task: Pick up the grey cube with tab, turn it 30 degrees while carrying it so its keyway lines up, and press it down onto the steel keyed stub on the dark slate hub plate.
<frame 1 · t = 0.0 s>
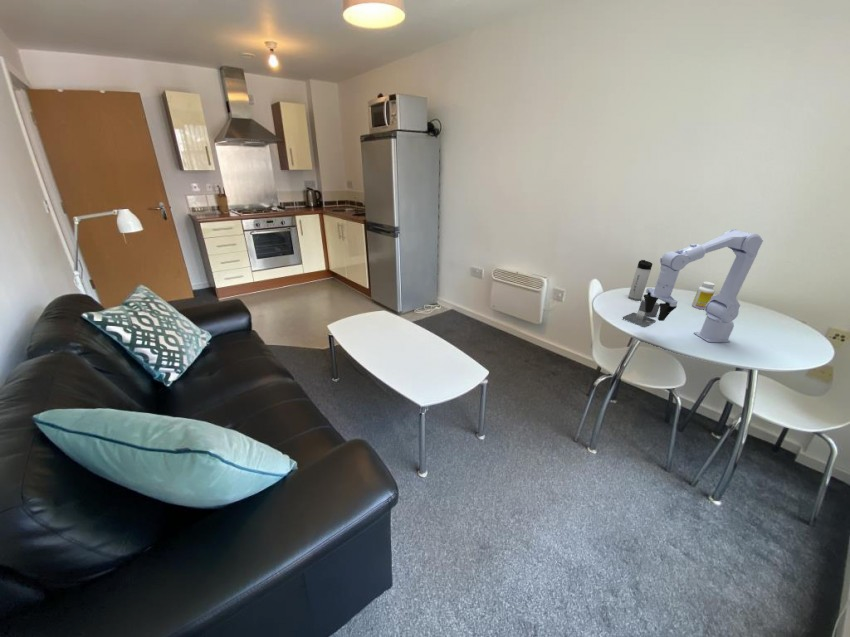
hand: (654, 316, 140), 10 cm above the table, fingers open, 7 cm apart
hub plate: (638, 320, 160), on the table
travel mug: (634, 298, 186), on the table
grey cube with tab: (646, 314, 167), on the table
supplement bottle: (699, 307, 178), on the table
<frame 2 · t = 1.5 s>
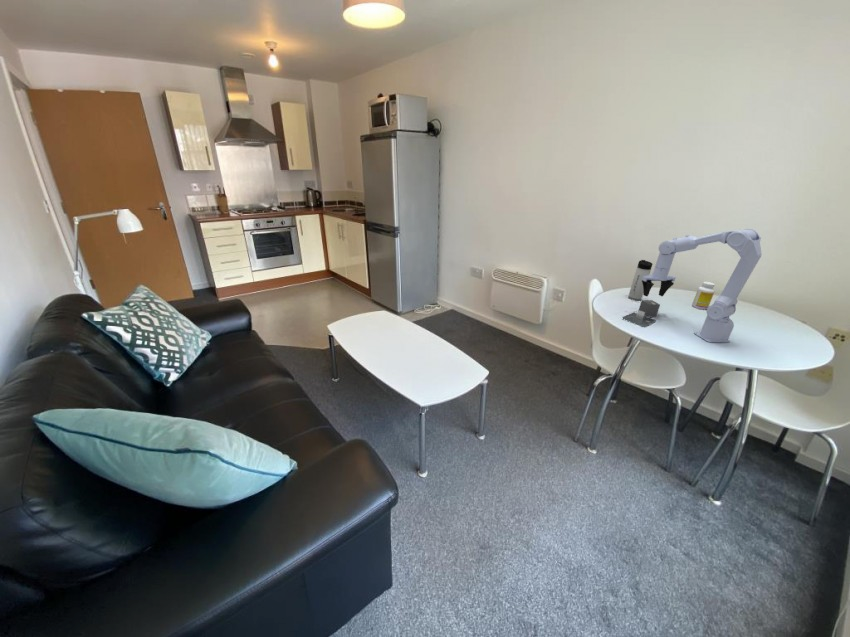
hand: (653, 295, 163), 9 cm above the table, fingers open, 7 cm apart
nothing on the table moved.
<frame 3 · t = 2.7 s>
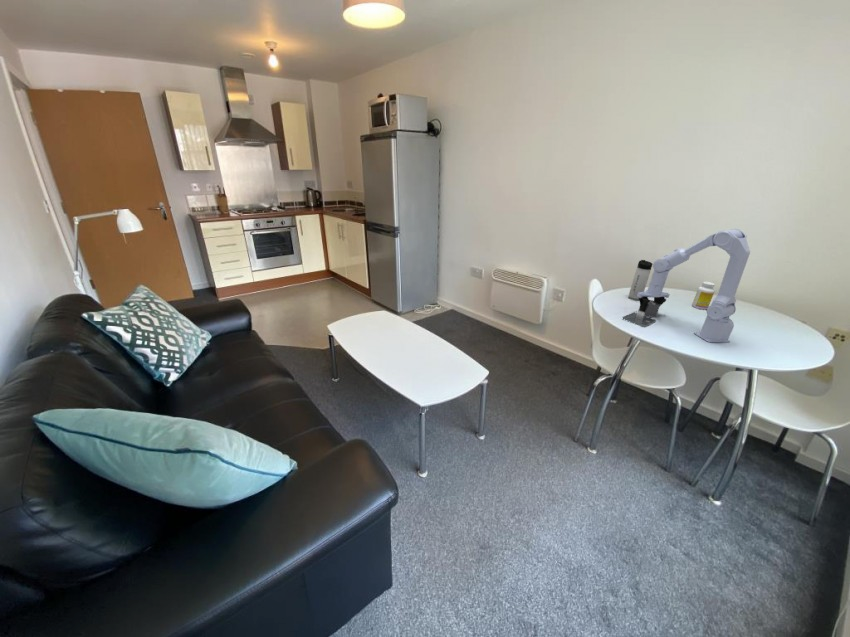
hand: (647, 311, 167), 1 cm above the table, fingers closed on grey cube with tab, 5 cm apart
grey cube with tab: (646, 314, 167), on the table, touching gripper
everything else where it was.
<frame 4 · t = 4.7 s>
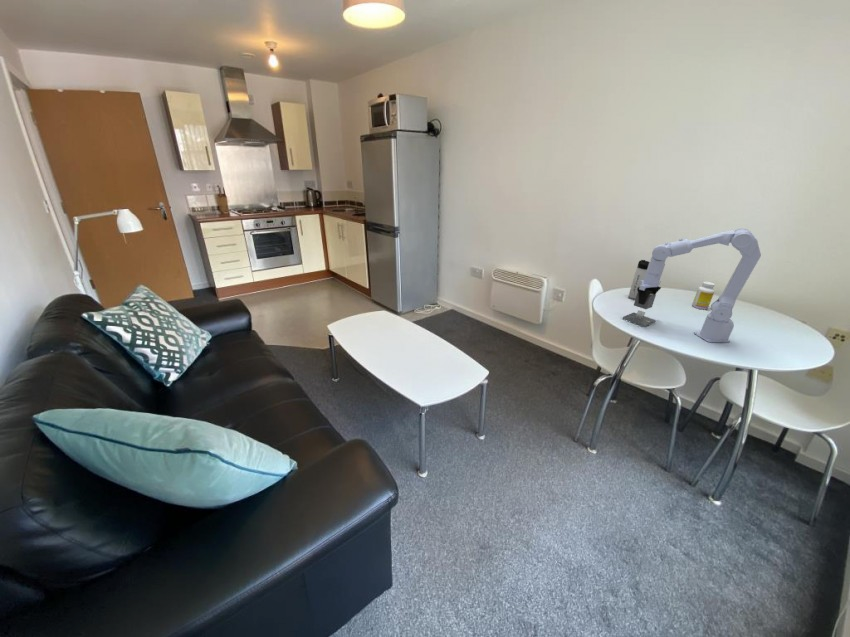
hand: (644, 302, 156), 9 cm above the table, fingers closed on grey cube with tab, 5 cm apart
grey cube with tab: (642, 306, 157), point 7 cm above the table, touching gripper
everything else where it was.
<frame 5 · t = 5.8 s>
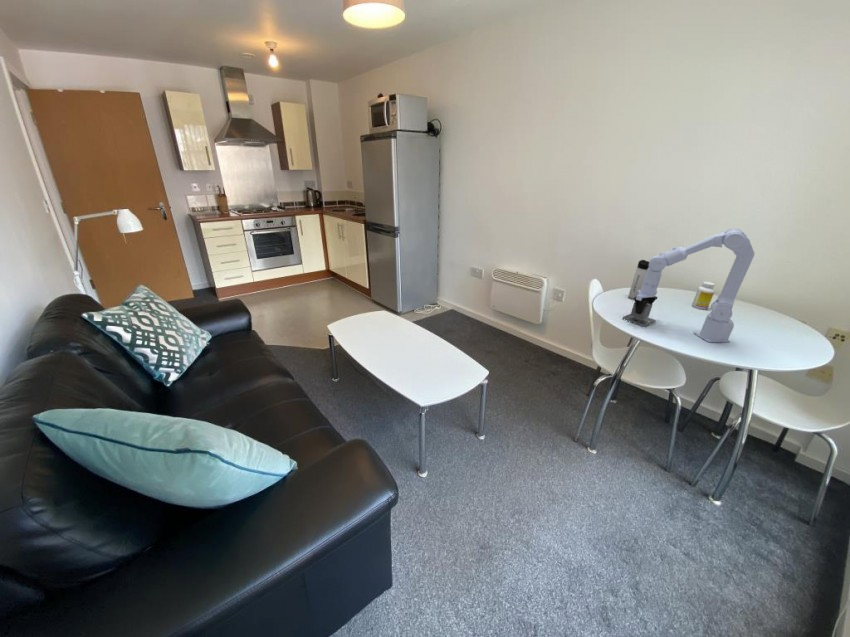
hand: (641, 312, 158), 4 cm above the table, fingers closed on grey cube with tab, 5 cm apart
grey cube with tab: (639, 315, 159), point 2 cm above the table, touching gripper
everything else where it was.
when the fingers open (3 cm above the table, at t = 6.5 s): grey cube with tab stays where it is, resting on hub plate.
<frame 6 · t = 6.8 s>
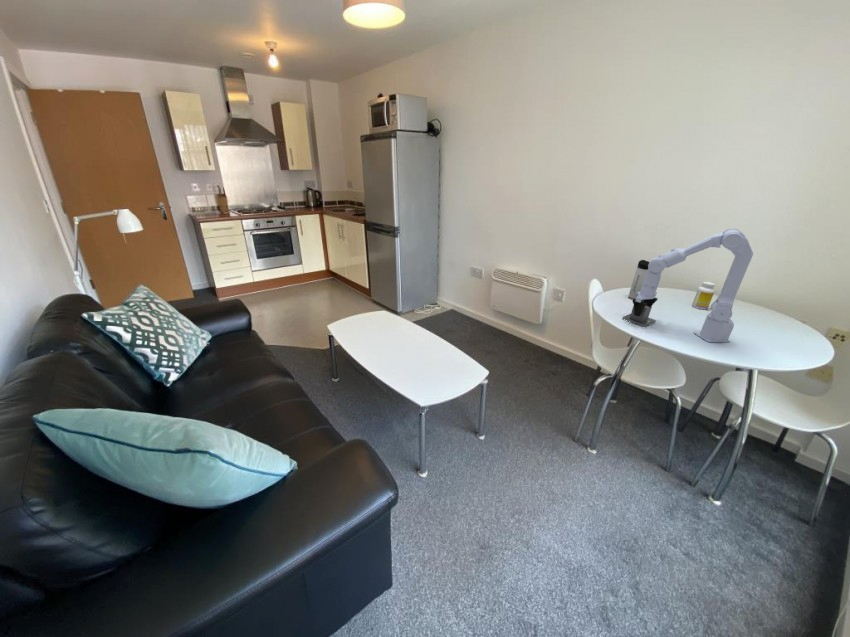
hand: (640, 313, 159), 3 cm above the table, fingers open, 7 cm apart
grey cube with tab: (638, 318, 160), point 1 cm above the table, touching hub plate
everything else where it was.
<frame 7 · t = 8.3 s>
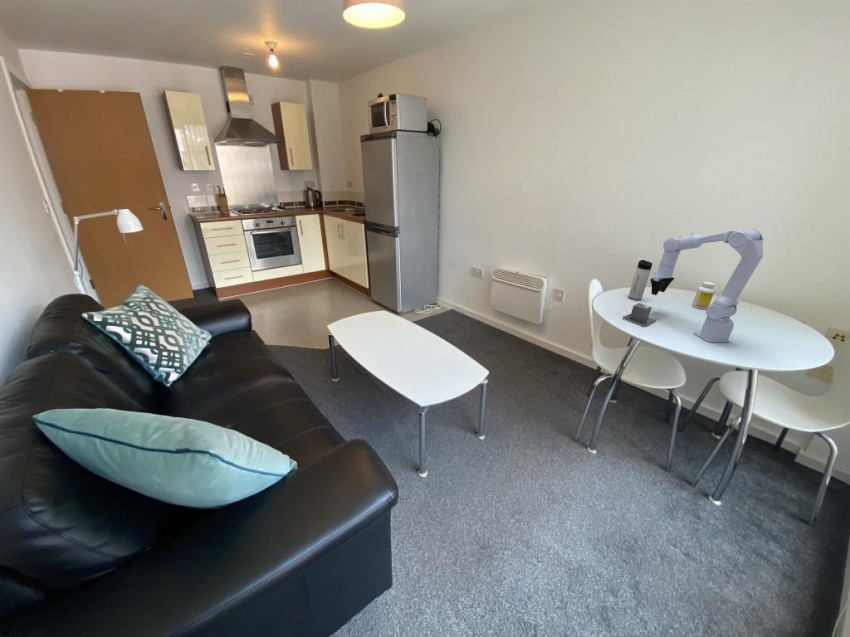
hand: (657, 293, 164), 10 cm above the table, fingers open, 7 cm apart
nothing on the table moved.
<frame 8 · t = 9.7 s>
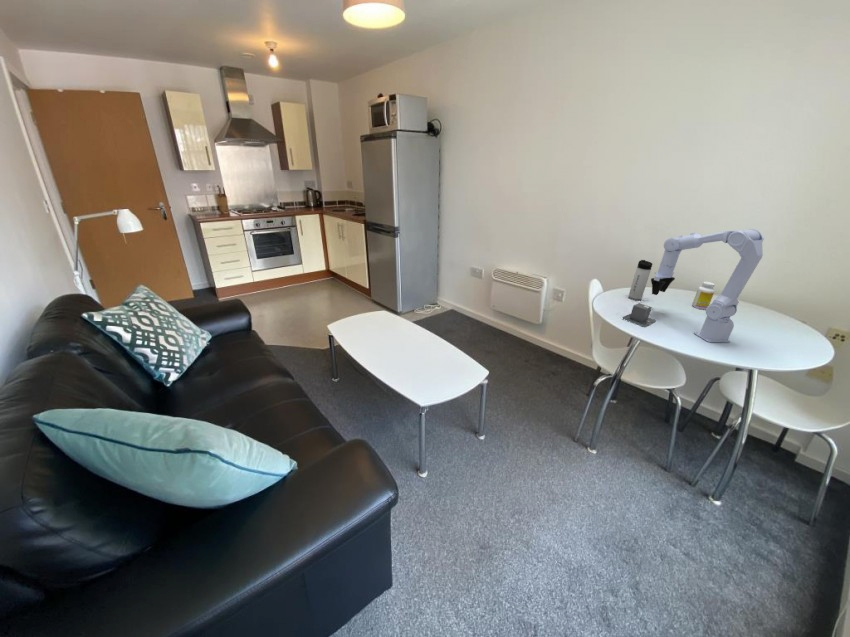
hand: (658, 292, 164), 10 cm above the table, fingers open, 7 cm apart
nothing on the table moved.
at the end: grey cube with tab 0.2 cm off-centre on the hub plate, point 1.0 cm above the hub plate's base; grey cube with tab tilted 0°; the gripper is holding nothing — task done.
